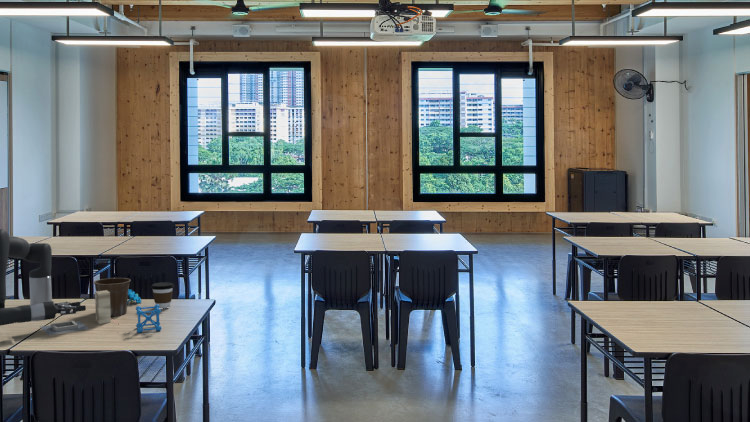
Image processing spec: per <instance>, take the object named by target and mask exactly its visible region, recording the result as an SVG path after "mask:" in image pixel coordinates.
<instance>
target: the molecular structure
mask: <svg viewBox="0 0 750 422" xmlns="http://www.w3.org/2000/svg"><path fill="white" fill-rule="evenodd" d="M159 308H160V306H159V305H158V304H157V305H155V304H154V306H143V307H142V306H140V305H137V306H136V307H135V310H136V313H135V314H136V315H137V323H136V325H135V327H136V332H137V333H138V334H140V333H142V332H144V331H155V330H156V331H157V332H161V330H162V326H161V322H160V314H161V312H162V309H159ZM145 309H148V310H145ZM149 309H153V310H149ZM143 310H145V311H143ZM148 313H150V314H149V315H147V314H148ZM155 315H156V321H155V320H153V318H152V317H154V316H155ZM141 316H142V317H144V318H145V319H144V320H142V322H141ZM148 322H150V323H148ZM147 326H148V328H144V327H147ZM149 326H155V327H152V328H151V327H150V328H149Z"/></svg>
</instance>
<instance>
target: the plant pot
mask: <svg viewBox="0 0 750 422" xmlns="http://www.w3.org/2000/svg"><path fill="white" fill-rule="evenodd" d="M130 282H131V279H130V278H126V277H109V278H101V279H97V280H95V281H93V285H94V288H95V289H94V290H95V292H98V291H106V290H107V291H109V292H110V310H111V316H113V317H119V316H123V315H126V314H127V312H128V304H127V301H128V300H129V299H128V298H129V295H128V289H130Z"/></svg>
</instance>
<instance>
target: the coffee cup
mask: <svg viewBox="0 0 750 422" xmlns="http://www.w3.org/2000/svg"><path fill="white" fill-rule="evenodd" d="M150 288H151V290H152V296H153V300H154V303H155V304H154V306H155V305H157V304H158V305H159V306H160V308H167V307H169V308H170V307H171V303H172V297H173V288H175V284H174V283H172V282H169V281H167V282H166V281H165V282H164V281H163V282H162V281H161V282H155V283H153V284H152V285H151V287H150Z"/></svg>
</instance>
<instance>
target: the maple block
mask: <svg viewBox="0 0 750 422" xmlns="http://www.w3.org/2000/svg"><path fill="white" fill-rule="evenodd" d="M94 297H95V298H94V301H95V302H94V303H95V307H94V308H95V322H96V323H97V324H99V325H101V324H106V323H108V324H109V323H111V322H112V320H111V319H112V318H111V316H112V315H111V310H110V292H109V291H107V290H106V291H98V292H97V291H94Z"/></svg>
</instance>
